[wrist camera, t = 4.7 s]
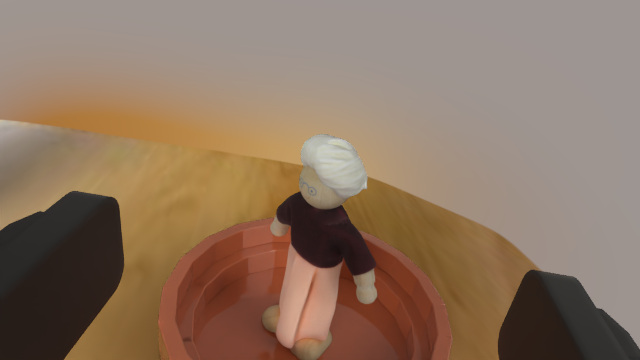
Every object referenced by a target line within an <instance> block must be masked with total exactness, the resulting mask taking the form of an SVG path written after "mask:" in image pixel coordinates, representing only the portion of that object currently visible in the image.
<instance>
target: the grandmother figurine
mask: <svg viewBox="0 0 640 360" xmlns="http://www.w3.org/2000/svg"><path fill="white" fill-rule="evenodd" d="M301 161H302V163H303V166H304V167H303V170H302V172H301V175H300V179H299V187H300V192H298V193H295V194H294V195H292V196H290V197H289V198H287V199H286V200H285V201H284V202H283V203H282V204H281V205H280V206H279V207H278V209H277V212H276V216H275V218H274V221H273V222H272V224H271V226H270V229H271V232H272V234H273V235H275V236H279V237H280V236H283V235H285V234H286V233H287V231H288V228H289V227H290V226H291V231H290V234H291V243H290V246H289V250H288V259H287V265H286V271H285V276H284V281H283V285H282V289H281V294H280V301H279V305H273V306H270V307H268V308H267V309H266V310H265V311H264V313H263V315H262V323H263V325H264V326H265V328H266V329H267V330H269V331H271V332H274V333H276V336H277V339H278V341H279V342H280V343H281V344H282V345H283V346H285V347H287V348H290V351H291V352H292V353H293V354H294V355H295V356H296V357H297V358H298V359H300V360H316V359H318V358H319V357H320V356H321V355H322V354H323V353H324V351H325V350H326V349H327V348H328V347H329V345H330V344H331V342H332V335H331V332H330V330H329V328H330V324H331V321H332V318H333V315H334V312H335V308H336V300H337V295H338V285H339V276H340V270H341V266H342V263H343V258H344V260H345V263H346V265H347V267H348V269H349V271H350V272H351V274H352V276H353V277H354V282H355V284H356V285H357V289H356V295H357V298H358V300H359V301H360V302H361V303H363V304H370V303H373V302H374V301H375V299H376V297H377V290H376V288H375V286H374V282H375V274H374V268H375V267H376V266H377V264H376V262H375V260H374V258H373V256H372V254H371V253H370V251H369V249H368V247H367V245H366V243H365V240H364V239H363V237H362V235H361V234H360V232H359V231H358V230H357V229H356V227H355V226H354V225H353V224H352V223H351V221H350V220H349V218H348V215H347V213H346V211H345V209H344V208H343V206H342V205H341V204H343V203H344V202H345V201H346V200H347V199H348V198H349V197H351V196H354V195H356V194H358V193H359V192H360V191H361V190H362V189H367V173H366V171H365V169H364V166H363V163H362V161H361V159H360V158H359V157H358V154H357V151H356V150H355V149H354V147H353V146H352V145H351V144H350V143H349V142H348V141H346V140H343V139H341V138H337V137H334V136H330V135H326V134H319V135H316V136H314V137H312V138H310V139H308V140H307V141H306V142H305V143H304V145H303V148H302V150H301Z"/></svg>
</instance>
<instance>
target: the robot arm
mask: <svg viewBox="0 0 640 360" xmlns="http://www.w3.org/2000/svg"><path fill="white" fill-rule="evenodd" d="M123 268H124V254H123V243H122V232H121V221H120V210H119V205H118V202H117V200H116V199H115V198H113V197H108V196H102V195H96V194H90V193H84V192H78V191H72V192H69V193H68V194H66V195H65V196H64V197H62V198H61V199H60V200H59V201H57V202H56V203H55V204H54V205H52V206H51V207H50V208H49V209H47V210H46V211H45V212H40V211H39V212H37V213H34V214H32V215H30V216H27V217H25V218H23V219H20V220H18V221H16V222H13V223H11V224H9V225H7V226H6V227H5V228H3V229H2V230H1V231H0V360H64V358H65V357H66V356H67V354H68V353H69V352H70V350H71V349H72V348H73V346H74V345H75V344H76V342H77V341H78V340H79V338H80V337H81V336H82V334H83V333H84V332H85V330H86V329H87V328H88V326H89V325H90V324H91V323H92V321H93V320H94V319H95V317H96V316H97V315H98V313H99V312H100V311H101V309H102V308H103V307H104V305H105V304H106V303H107V301H108V300H109V299H110V297H111V296H112V295H113V293H114V292H115V291H116V289H117V287H118V285H119V283H120V280H121V277H122V273H123ZM498 354H499V360H640V349H639V348H638V346H637V345H636V343H635V342H634V340H633V339H632V337H631V336H630V334H629V333H628V332H627V331H626V330H624V328H622V327H621V326H620V325H619V324H618V323H617V322H616V321H615V320H614V319H612V318H611V317H610V316H609V315H608V314H607V313H606V312H605V311H604V310H602V309H598V308H596V307H595V305H594V304H593V302H592V300H591V299H590V297H589V296H588V294H587V293H586V291H585V289H584V288H583V286H582V285H581V283H580V282H579V281H578V280H577V279H576V278H575V277H572V276H566V275H560V274H554V273H548V272H543V271H537V270H530V271H528V272H527V273H526V274H525V276H524V278H523V280H522V282H521V284H520V286H519V288H518V291H517V293H516V295H515V297H514V300H513V302H512V304H511V306H510V308H509V311H508V313H507V315H506V317H505V320H504V322H503V324H502V326H501V329H500V333H499V339H498Z"/></svg>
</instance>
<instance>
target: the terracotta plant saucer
mask: <svg viewBox="0 0 640 360" xmlns="http://www.w3.org/2000/svg"><path fill="white" fill-rule="evenodd" d="M273 221H274V218H267V219H262V220H256V221H251V222H246V223H241V224H237V225H234V226H232V227H230V228H227V229H225V230H223V231H220V232H218V233H216V234H213V235H211V236H209V237H207V238H205V239H204V240H203V241H202V242H200V243H199V244H198V245H197V246H195V247H194V248H193V249H192V250H190V251H189V252H188V253H187V254H185V255H184V256H183V257H182V258H181V259H180V260H179V262H178V264H177V265H176V267H175V268H174V270H173V272H172V273H171V275H170V277H169V278H168V280H167V281H166V283H165V285H164V286H163V288H162V295H161V303H160V310H159V317H158V334H159V352H160V360H300V359H298V358H297V357H296V356H295V355H294V354H293V353H292V352H291V351H290V348H287V347H285V346H283V345H282V344H281V343H280V342H279V341H278V339H277V336H276V333H274V332H271V331H269V330H267V329H266V328H265V326H264V325H263V323H262V315H263V313H264V311H265V310H266V309H267V308H268V307H270V306H273V305H279V301H280V294H281V289H282V285H283V281H284V276H285V271H286V265H287V259H288V250H289V246H290V243H291V234H290V231H291V226H290V227H289V228H288V231H287V233H286V234H285V235H283V236H280V237H279V236H275V235H273V234H272V232H271V229H270V226H271V224H272V222H273ZM358 231H359V232H360V234H361V235H362V237H363V239H364V240H365V243H366V245H367V247H368V249H369V251H370V253H371V254H372V256H373V258H374V260H375V262H376V264H377V266H376V267H375V268H374V274H375V282H374V286H375V288H376V290H377V297H376V299H375V301H374V302H373V303H370V304H363V303H361V302H360V301H359V300H358V298H357V295H356V289H357V285H356V284H355V282H354V277H353V276H352V274H351V272H350V271H349V269H348V267H347V265H346V263H345V260H344V258H343V263H342V266H341V270H340V276H339V285H338V295H337V300H336V308H335V312H334V315H333V318H332V321H331V324H330V328H329V330H330V332H331V335H332V342H331V344H330V345H329V347H328V348H327V349H326V350H325V351H324V353H323V354H322V355H321V356H320V357H319V358H318V359H316V360H448V359H449V355H450V350H451V346H452V341H453V340H452V333H451V329H450V324H449V319H448V315H447V310H446V306H445V303H444V302H443V300H442V298H441V297H440V295H439V294H438V292H437V290H436V289H435V287H434V286H433V284H432V282H431V281H430V279H429V277H427V275H426V274H425V273H424V272H423V271H422V270H421V269H420V268H419V267H417V266H416V265H415V264H414V263H413V262H412V261H411V260H410V259H409V258H408V257H407V256H406V255H405V254H403V253H402V252H400V251H399V250H397V249H395V248H394V247H392V246H390V245H388V244H387V243H385V242H383V241H382V240H380V239H378V238H377V237H375V236H372V235H371V234H368V233H365V232H362V231H360V230H358Z"/></svg>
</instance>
